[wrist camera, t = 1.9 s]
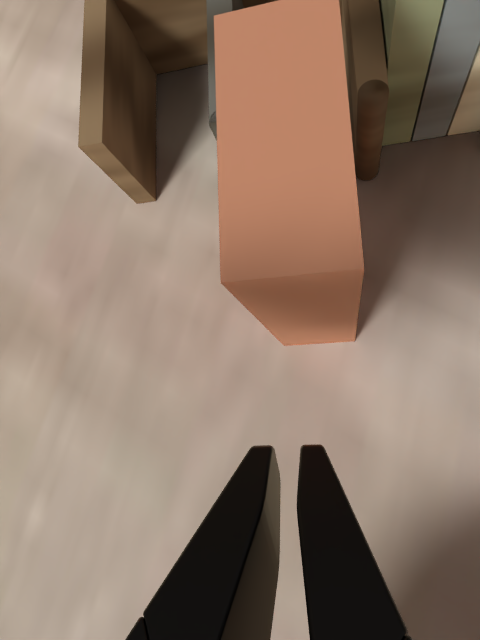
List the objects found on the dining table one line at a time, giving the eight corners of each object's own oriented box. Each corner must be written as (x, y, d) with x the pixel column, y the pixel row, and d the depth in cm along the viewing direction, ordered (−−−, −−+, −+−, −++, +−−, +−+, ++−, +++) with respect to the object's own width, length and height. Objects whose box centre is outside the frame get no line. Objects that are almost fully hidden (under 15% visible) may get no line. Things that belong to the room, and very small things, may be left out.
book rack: (513, 159, 22) (656, -52, 12) (136, 213, 26) (5, 92, 16) (483, -15, 24) (583, -322, 14) (138, 61, 28) (23, -130, 18)
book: (354, 341, 22) (364, 268, 10) (284, 345, 23) (220, 282, 11) (341, 191, 24) (337, -14, 12) (276, 200, 24) (213, 16, 13)
